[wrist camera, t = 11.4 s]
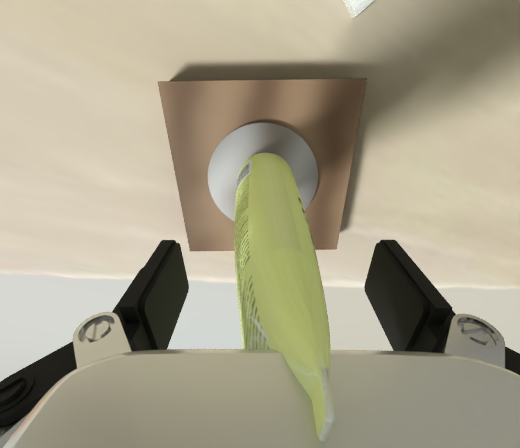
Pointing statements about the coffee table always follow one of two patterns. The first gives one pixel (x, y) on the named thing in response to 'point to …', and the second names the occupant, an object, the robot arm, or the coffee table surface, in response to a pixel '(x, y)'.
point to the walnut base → (260, 148)
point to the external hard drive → (356, 6)
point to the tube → (282, 279)
